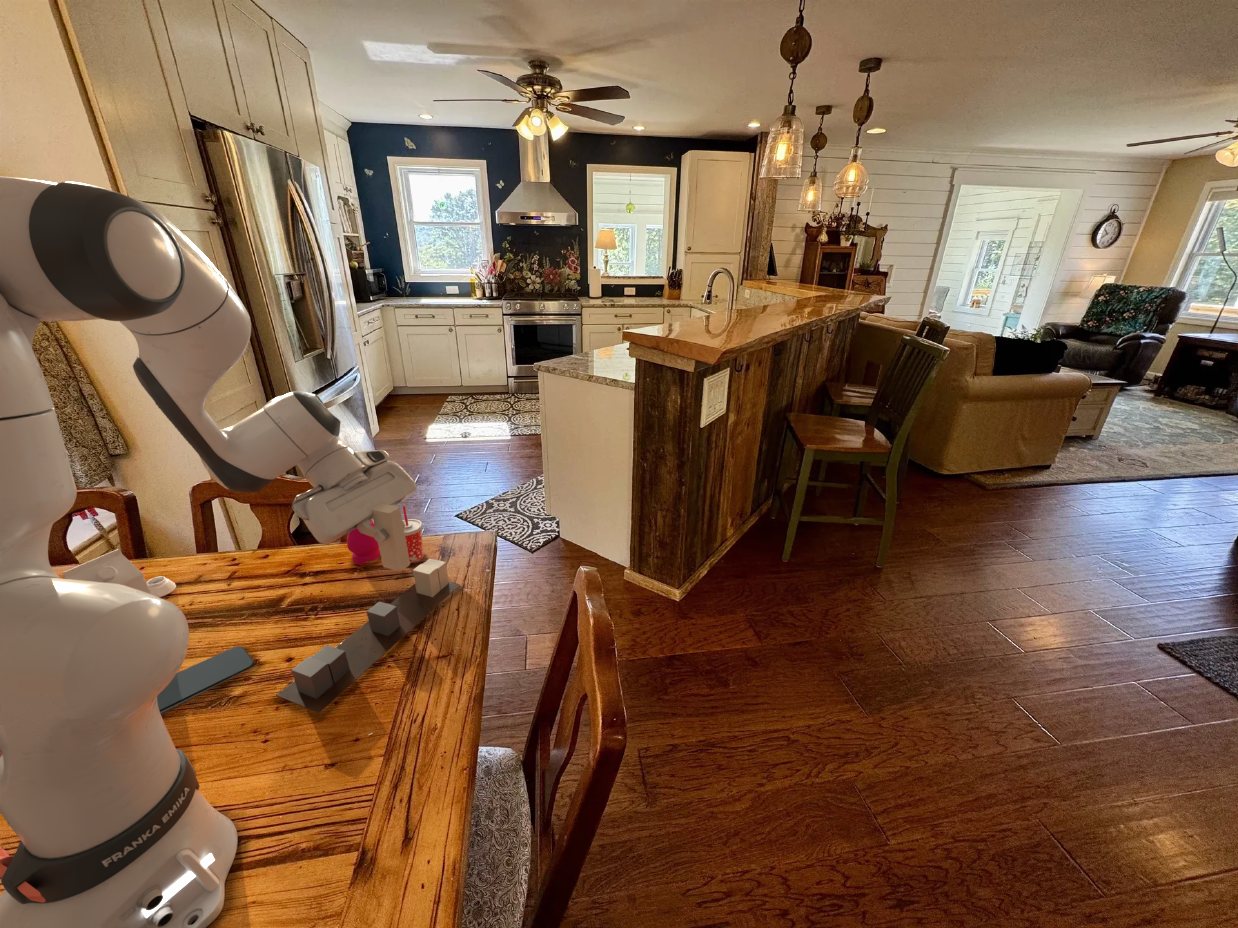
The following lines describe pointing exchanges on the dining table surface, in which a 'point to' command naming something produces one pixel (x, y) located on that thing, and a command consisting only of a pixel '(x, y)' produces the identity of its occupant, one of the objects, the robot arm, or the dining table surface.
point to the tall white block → (392, 537)
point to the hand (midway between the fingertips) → (393, 534)
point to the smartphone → (203, 677)
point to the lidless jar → (160, 586)
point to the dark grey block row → (339, 655)
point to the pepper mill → (362, 546)
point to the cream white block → (430, 577)
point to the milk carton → (110, 571)
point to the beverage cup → (413, 537)
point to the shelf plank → (371, 645)
